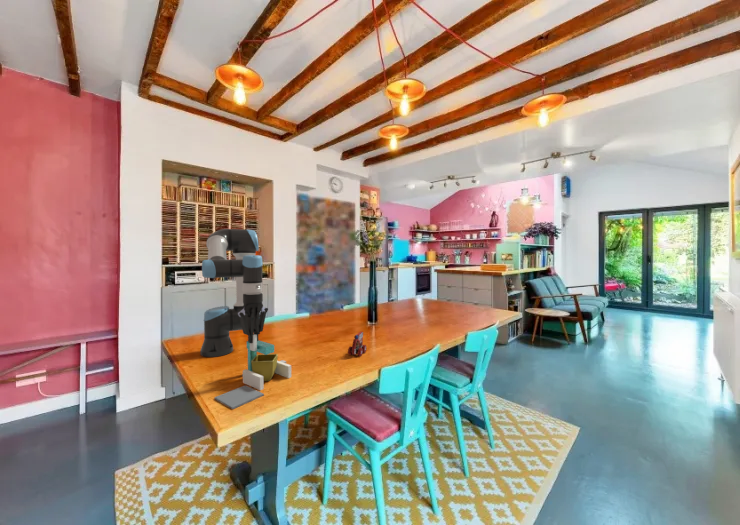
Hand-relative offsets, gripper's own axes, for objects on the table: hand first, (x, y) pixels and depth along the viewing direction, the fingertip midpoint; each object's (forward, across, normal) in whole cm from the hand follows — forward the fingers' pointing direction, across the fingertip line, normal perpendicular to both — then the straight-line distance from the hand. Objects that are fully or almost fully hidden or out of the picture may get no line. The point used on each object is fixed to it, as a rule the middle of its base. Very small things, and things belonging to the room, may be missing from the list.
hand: (253, 350), depth 123 cm
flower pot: (+13, +3, -3) cm, 13 cm away
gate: (+12, +3, 0) cm, 12 cm away
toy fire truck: (+13, +50, -15) cm, 54 cm away
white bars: (+12, +8, -1) cm, 15 cm away
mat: (+12, -12, -9) cm, 19 cm away
